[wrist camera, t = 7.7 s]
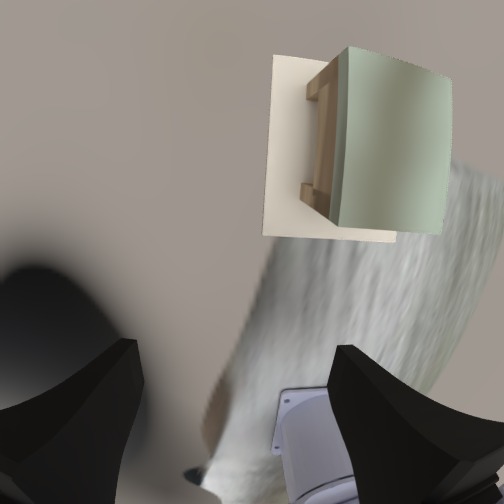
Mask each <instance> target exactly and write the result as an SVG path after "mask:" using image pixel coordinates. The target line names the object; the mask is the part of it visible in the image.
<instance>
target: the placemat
mask: <svg viewBox="0 0 504 504" xmlns="http://www.w3.org/2000/svg"><path fill="white" fill-rule="evenodd" d="M328 64H329V63H328V62H323V61H317V60H311V59H304V58H297V57H289V56H281V55H273V61H272V80H271V97H270V114H269V130H268V147H267V162H266V178H265V193H264V208H263V223H262V236H280V237H301V238H321V239H339V240H357V241H374V242H391V243H395V240H396V234H397V231H388V230H375V229H360V228H346V227H337V226H336V225H335V224H333V223H332V222H330V221H329V220H328V219H326V218H325V217H324V216H322V215H321V214H319V213H318V212H317V211H315V210H314V209H312V208H311V207H309V206H308V205H307V204H305V203H304V202H302V201H301V200H300V189H301V183H309V184H313V179H314V167H315V152H316V137H317V119H318V101H311V100H306V90H307V84H308V83H309V82H310V81H311V80H312V79H313V78H314V77H315V76H316V75H317V74H318V73H319V72H320V71H321V70H322V69H323V68H325V67H326V66H327V65H328Z"/></svg>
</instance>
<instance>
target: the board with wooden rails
mask: <svg viewBox="0 0 504 504" xmlns="http://www.w3.org/2000/svg"><path fill="white" fill-rule="evenodd" d="M451 85H452V84H451V79H450V78H447V77H445V76H442V75H440V74H438V73H435V72H432V71H430V70H427V69H424V68H422V67H419V66H416V65H414V64H411V63H408V62H404V61H402V60H399V59H395V58H392V57H389V56H386V55H382V54H379V53H375V52H371V51H367V50H364V49H360V48H356V47H351V46H348V47H347V48H346V49H344V50H343V51H342V52H341V53H340V54H339V55H338V56H337V57H335V58H334V59H333V60H332V61H331V62H330V63H329V64H328V65H327V66H326V67H325V68H323V69H322V70H321V71H320V72H319V73H318V74H317V75H316V76H315V77H314V78H313V79H312V80H311V81H310V82H309V83H308V84H307V90H306V100H311V101H318V119H317V137H316V152H315V167H314V179H313V184H309V183H301V189H300V200H301V201H302V202H304V203H305V204H307V205H308V206H309V207H311V208H312V209H314V210H315V211H317V212H318V213H319V214H321V215H322V216H324V217H325V218H326V219H328V220H329V221H330V222H332V223H333V224H335V225H336V226H337V227H346V228H360V229H375V230H388V231H401V232H413V233H425V234H436V235H441V230H442V224H443V218H444V212H445V205H446V198H447V190H448V181H449V171H450V159H451V142H452V141H451V140H452V86H451Z"/></svg>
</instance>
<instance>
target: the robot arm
mask: <svg viewBox="0 0 504 504" xmlns="http://www.w3.org/2000/svg"><path fill="white" fill-rule="evenodd" d="M143 386H144V377H143V372H142V367H141V362H140V356H139V350H138V344H137V340H133V339H125V338H121V339H119V340H118V341H117V342H115V343H114V344H113V345H112V346H110V347H109V348H108V349H107V350H105V351H104V352H103V353H102V354H100V355H99V356H98V357H97V358H95V359H94V360H93V361H91V362H90V363H89V364H88V365H86V366H85V367H84V368H82V369H81V370H79V371H78V372H77V373H75V374H73V375H72V376H71V377H69V378H68V379H66V380H65V381H64V382H62V383H60V384H58V385H57V386H55V387H53V388H52V389H50V390H48V391H46V392H44V393H42V394H41V395H38V396H36V397H34V398H31V399H30V400H27V401H25V402H22V403H20V404H18V405H15V406H12V407H9V408H6V409H3V410H0V504H115V496H116V488H117V481H118V475H119V469H120V464H121V459H122V455H123V452H124V448H125V446H126V442H127V440H128V437H129V434H130V431H131V428H132V425H133V422H134V419H135V417H136V414H137V411H138V408H139V405H140V401H141V396H142V391H143ZM286 399H288V400H286ZM271 454H272V455H281V456H282V462H283V469H284V475H285V481H286V488H287V494H288V499H289V501H290V503H289V504H504V484H503V485H502V486H500V487H499V488H498V487H497V485H496V484H495V483H496V482H498V481H499V477H498V475H497V473H496V472H497V471H498V470H499V469H500V468H501V467H502V466H503V465H504V423H503V422H497V421H492V420H486V419H482V418H478V417H474V416H471V415H468V414H465V413H462V412H459V411H456V410H454V409H451V408H449V407H446V406H444V405H442V404H440V403H438V402H436V401H434V400H432V399H430V398H428V397H426V396H424V395H422V394H420V393H419V392H417V391H415V390H414V389H412V388H411V387H409V386H408V385H406V384H405V383H403V382H402V381H400V380H399V379H397V378H396V377H394V376H393V375H392V374H390V373H389V372H388V371H386V370H385V369H384V368H382V367H381V366H380V365H379V364H377V363H376V362H375V361H373V360H372V359H371V358H370V357H368V356H367V355H366V354H365V353H363V352H362V351H361V350H359V349H358V348H357V347H355V346H354V345H337V348H336V352H335V356H334V360H333V364H332V368H331V372H330V375H329V379H328V383H327V388H318V389H300V390H285V391H283V392H282V394H281V398H280V404H279V410H278V415H277V421H276V426H275V431H274V436H273V442H272V447H271Z"/></svg>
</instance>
